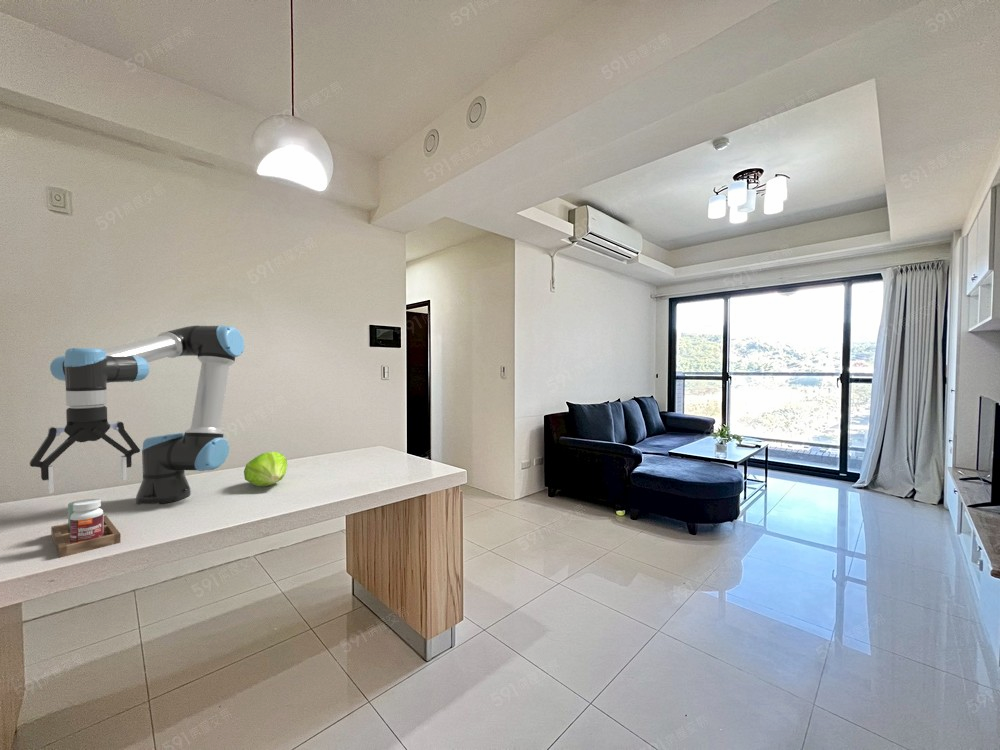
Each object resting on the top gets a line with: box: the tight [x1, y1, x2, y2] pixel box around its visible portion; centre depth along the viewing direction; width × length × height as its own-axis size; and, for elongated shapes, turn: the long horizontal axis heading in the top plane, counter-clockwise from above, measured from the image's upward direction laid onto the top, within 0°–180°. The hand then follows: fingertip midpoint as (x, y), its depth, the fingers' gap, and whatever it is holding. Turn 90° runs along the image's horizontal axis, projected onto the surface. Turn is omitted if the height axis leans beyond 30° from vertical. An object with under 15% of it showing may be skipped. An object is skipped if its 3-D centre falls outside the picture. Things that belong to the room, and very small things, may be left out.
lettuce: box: [243, 451, 288, 488], centre depth 161 cm, size 15×20×14 cm
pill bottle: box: [70, 498, 104, 544], centre depth 106 cm, size 6×6×11 cm
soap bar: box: [67, 498, 89, 533], centre depth 112 cm, size 6×6×9 cm
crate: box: [50, 515, 121, 559], centre depth 109 cm, size 11×21×3 cm, turn 52°
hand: (89, 485), depth 106 cm, fingers open, 13 cm apart
